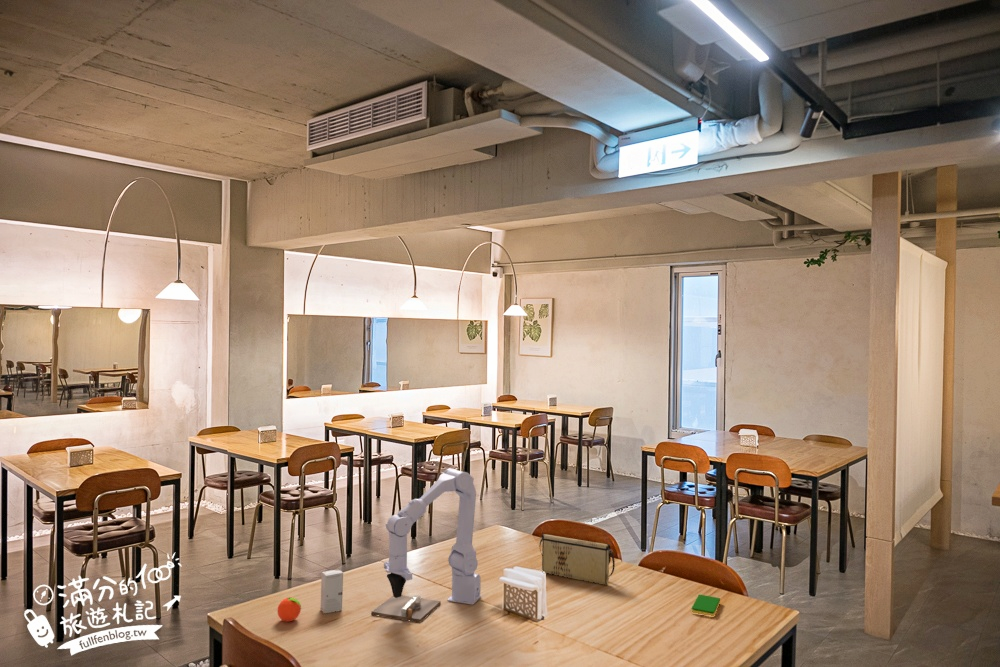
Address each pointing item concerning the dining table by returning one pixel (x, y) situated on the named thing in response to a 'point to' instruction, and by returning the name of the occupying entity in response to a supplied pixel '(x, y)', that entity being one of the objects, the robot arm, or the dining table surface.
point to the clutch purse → (576, 558)
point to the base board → (417, 614)
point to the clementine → (289, 609)
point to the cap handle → (411, 605)
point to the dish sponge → (706, 605)
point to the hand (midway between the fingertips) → (397, 596)
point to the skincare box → (331, 591)
